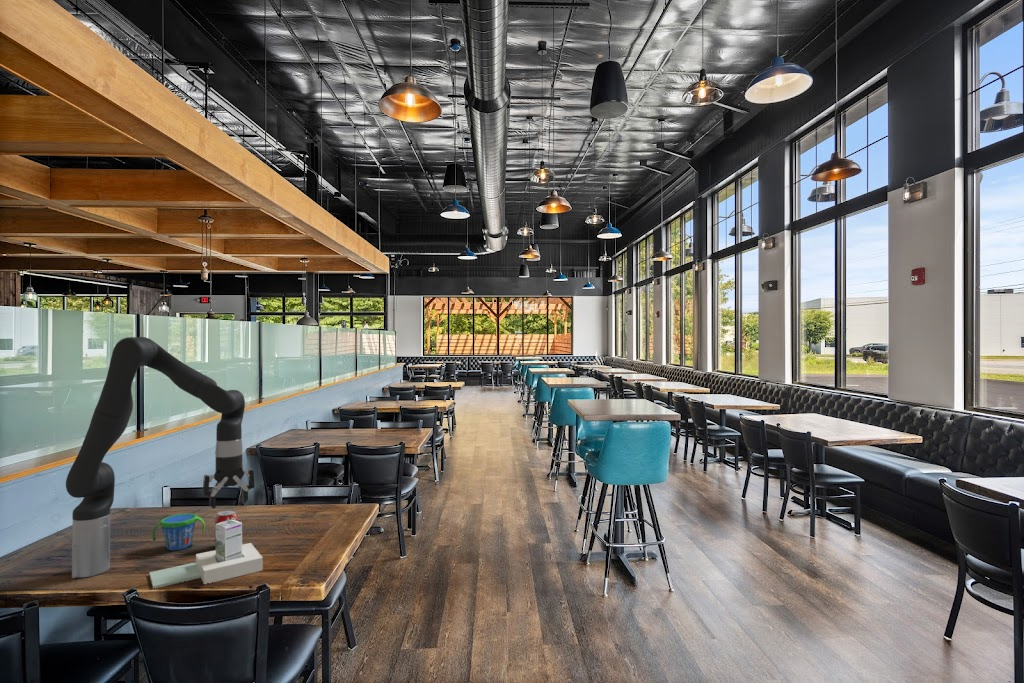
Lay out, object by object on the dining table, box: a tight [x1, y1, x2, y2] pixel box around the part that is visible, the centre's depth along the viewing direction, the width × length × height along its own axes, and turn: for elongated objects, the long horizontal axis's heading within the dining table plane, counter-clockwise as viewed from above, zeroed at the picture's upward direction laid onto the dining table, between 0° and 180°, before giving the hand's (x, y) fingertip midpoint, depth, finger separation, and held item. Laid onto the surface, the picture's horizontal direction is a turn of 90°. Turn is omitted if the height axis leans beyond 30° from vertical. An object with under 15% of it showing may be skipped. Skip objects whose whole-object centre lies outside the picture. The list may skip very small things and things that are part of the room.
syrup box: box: [215, 520, 243, 563], centre depth 167 cm, size 6×6×14 cm
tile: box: [149, 562, 201, 590], centre depth 162 cm, size 12×12×1 cm
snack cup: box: [151, 512, 206, 551], centre depth 185 cm, size 16×10×10 cm
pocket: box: [195, 542, 264, 585], centre depth 167 cm, size 16×16×4 cm
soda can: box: [214, 509, 239, 547], centre depth 186 cm, size 7×7×12 cm
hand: (229, 505), depth 167 cm, fingers open, 8 cm apart
